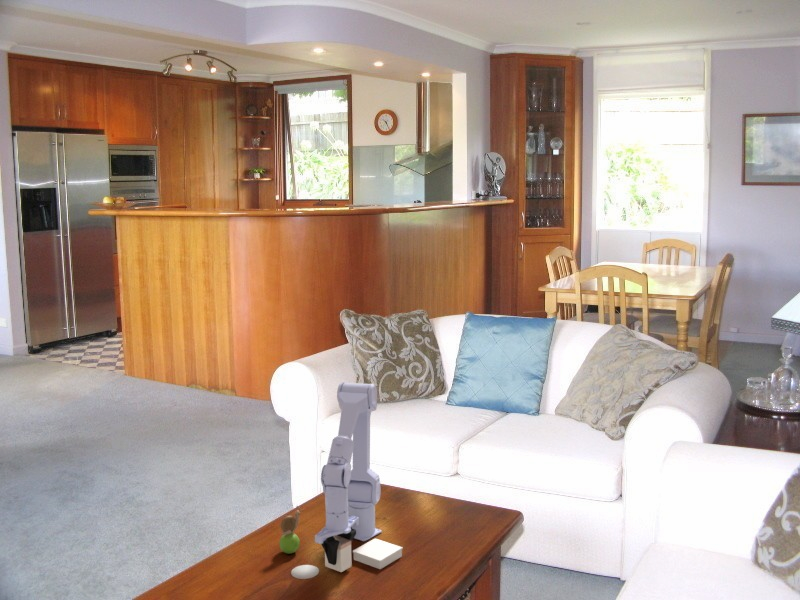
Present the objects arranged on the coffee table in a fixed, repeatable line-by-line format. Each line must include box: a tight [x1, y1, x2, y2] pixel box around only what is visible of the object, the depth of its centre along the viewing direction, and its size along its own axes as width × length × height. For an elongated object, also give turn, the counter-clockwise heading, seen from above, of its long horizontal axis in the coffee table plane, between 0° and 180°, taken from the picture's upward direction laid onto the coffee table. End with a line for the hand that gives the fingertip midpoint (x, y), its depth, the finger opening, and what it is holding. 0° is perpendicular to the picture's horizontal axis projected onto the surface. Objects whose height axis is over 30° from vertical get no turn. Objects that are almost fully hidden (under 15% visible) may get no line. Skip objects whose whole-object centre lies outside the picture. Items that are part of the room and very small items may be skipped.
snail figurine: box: [278, 505, 301, 554], centre depth 223 cm, size 5×6×12 cm
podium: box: [351, 538, 404, 570], centre depth 219 cm, size 9×9×2 cm
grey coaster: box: [290, 564, 320, 580], centre depth 212 cm, size 7×7×1 cm
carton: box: [324, 535, 353, 573], centre depth 212 cm, size 6×4×7 cm
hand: (338, 560), depth 213 cm, fingers closed on carton, 4 cm apart
